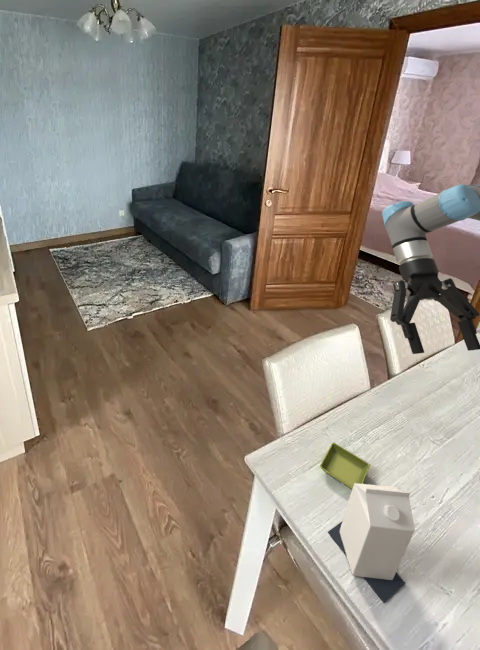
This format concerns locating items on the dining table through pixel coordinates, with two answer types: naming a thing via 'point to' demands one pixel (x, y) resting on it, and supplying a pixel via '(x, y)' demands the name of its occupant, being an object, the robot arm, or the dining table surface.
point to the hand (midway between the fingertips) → (446, 351)
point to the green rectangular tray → (344, 466)
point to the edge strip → (378, 585)
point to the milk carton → (376, 530)
